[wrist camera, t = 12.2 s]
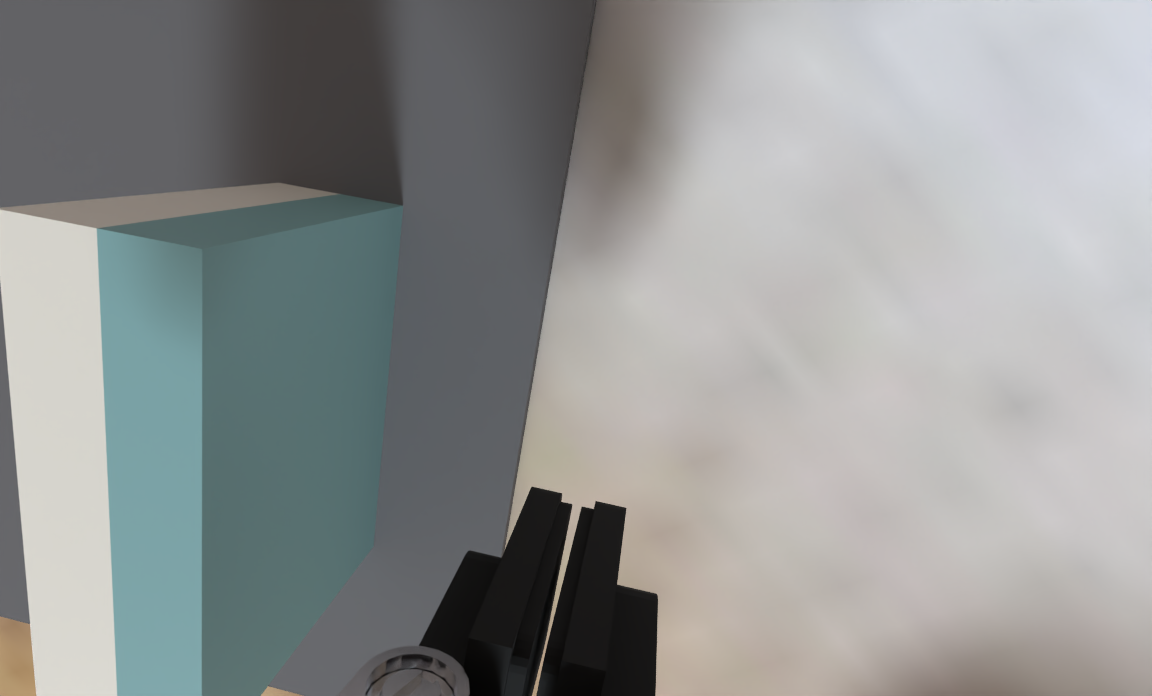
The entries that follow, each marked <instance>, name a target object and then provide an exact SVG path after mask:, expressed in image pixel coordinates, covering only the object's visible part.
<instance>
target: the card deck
mask: <svg viewBox="0 0 1152 696" xmlns="http://www.w3.org/2000/svg"><path fill="white" fill-rule="evenodd" d="M402 214H403V206H402V205H397V204H392V203H386V202H381V201H375V200H370V199H364V198H359V197H354V196H348V195H343V194H337V193H332V192H327V191H321V190H316V189H310V188H305V187H299V186H294V185H289V184H283V183H269V184H258V185H247V186H235V187H224V188H213V189H202V190H191V191H180V192H169V193H158V194H147V195H136V196H124V197H113V198H102V199H91V200H80V201H69V202H58V203H47V204H36V205H25V206H14V207H2V208H0V284H1V296H2V307H3V319H4V330H5V342H6V353H7V365H8V376H9V388H10V399H11V410H12V422H13V433H14V445H15V456H16V468H17V479H18V491H19V502H20V514H21V525H22V536H23V548H24V559H25V571H26V582H27V594H28V605H29V617H30V628H31V639H32V651H33V662H34V674H35V685H36V696H261V694H262V693H263V692H264V690H265V689H266V688H267V686H268V685H269V684H270V682H271V681H272V680H273V678H274V677H275V676H276V674H277V673H278V672H279V670H280V669H281V668H282V666H283V665H284V664H285V663H286V661H287V660H288V659H289V657H290V656H291V655H292V653H293V652H294V651H295V649H296V648H297V647H298V645H299V644H300V643H301V641H302V640H303V639H304V637H305V636H306V635H307V633H308V632H309V631H310V629H311V628H312V627H313V626H314V624H315V623H316V622H317V620H318V619H319V618H320V616H321V615H322V614H323V612H324V611H325V610H326V608H327V607H328V606H329V604H330V603H331V602H332V600H333V599H334V598H335V596H336V595H337V594H338V592H339V591H340V590H341V589H342V587H343V586H344V585H345V583H346V582H347V581H348V579H349V578H350V577H351V575H352V574H353V573H354V571H355V570H356V569H357V567H358V566H359V565H360V563H361V562H362V561H363V559H364V558H365V557H366V556H367V554H368V553H369V552H370V550H371V549H372V548H373V546H374V535H375V523H376V512H377V500H378V489H379V477H380V466H381V454H382V443H383V432H384V420H385V409H386V397H387V386H388V374H389V363H390V351H391V340H392V328H393V317H394V305H395V294H396V282H397V271H398V260H399V248H400V237H401V225H402Z"/></svg>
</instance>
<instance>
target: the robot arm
mask: <svg viewBox="0 0 1152 696" xmlns="http://www.w3.org/2000/svg"><path fill="white" fill-rule="evenodd" d="M561 499H562V493H557V492H553V491H549V490H544V489H540V488H535V487H531V489H530V492H529V494H528V496H527V499H526V501H525V504H524V506H523V508H522V511H521V513H520V515H519V518H518V520H517V523H516V525H515V527H514V530H513V532H512V535H511V537H510V539H509V542H508V544H507V547H506V549H505V551H504V554H503V556H502V558H501V557H497V556H492V555H488V554H484V553H480V552H475V551H471V550H469V551H468V552H467V553H466V555H465V556H464V558H463V560H462V562H461V564H460V566H459V568H458V570H457V572H456V574H455V576H454V578H453V580H452V582H451V584H450V586H449V587H448V589H447V591H446V593H445V595H444V597H443V599H442V601H441V603H440V605H439V607H438V609H437V611H436V613H435V615H434V617H433V619H432V621H431V623H430V624H429V626H428V628H427V630H426V632H425V634H424V636H423V638H422V640H421V642H420V644H419V646H403V647H398V648H393V649H389V650H387V651H384V652H382V653H380V654H378V655H376V656H374V657H373V658H372V659H370V660H369V661H368V662H367V663H366V664H365V665H363V666H362V667H361V668H360V670H359V671H358V672H357V673H356V674H355V675H354V677H353V678H352V679H351V680H350V681H349V683H348V684H347V685H346V686H345V687H344V688H343V690H342V691H341V692H340V693H339V694H338V695H337V696H532V693H533V689H534V685H535V681H536V677H537V673H538V669H539V666H540V662H541V658H542V654H543V649H544V645H545V641H546V636H547V631H548V626H549V621H550V616H551V611H552V606H553V601H554V596H555V591H556V585H557V580H558V575H559V570H560V565H561V560H562V555H563V550H564V545H565V540H566V535H567V530H568V525H569V520H570V515H571V509H572V504H568V503H564V502H561ZM625 514H626V508H624V507H620V506H615V505H611V504H606V503H602V502H597V501H596V503H595V507H594V509H590V508H586V507H582V508H581V512H580V516H579V520H578V524H577V528H576V532H575V536H574V540H573V544H572V548H571V552H570V556H569V560H568V564H567V568H566V572H565V576H564V580H563V584H562V588H561V592H560V596H559V600H558V604H557V608H556V612H555V616H554V620H553V624H552V628H551V632H550V636H549V640H548V644H547V648H546V653H545V657H544V662H543V666H542V671H541V676H540V681H539V686H538V691H537V696H655V689H656V651H657V613H658V596H657V594H655V593H650V592H646V591H642V590H638V589H633V588H629V587H625V586H620V585H617V580H618V571H619V563H620V555H621V547H622V539H623V531H624V523H625Z"/></svg>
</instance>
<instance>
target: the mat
mask: <svg viewBox="0 0 1152 696" xmlns="http://www.w3.org/2000/svg"><path fill="white" fill-rule="evenodd" d="M595 5H596V0H0V208H2V207H14V206H25V205H36V204H47V203H58V202H69V201H80V200H91V199H102V198H113V197H124V196H136V195H147V194H158V193H169V192H180V191H191V190H202V189H213V188H224V187H235V186H247V185H258V184H269V183H283V184H289V185H294V186H299V187H305V188H310V189H316V190H321V191H327V192H332V193H337V194H343V195H348V196H354V197H359V198H364V199H370V200H375V201H381V202H386V203H392V204H397V205H402V206H403V214H402V225H401V237H400V248H399V260H398V271H397V282H396V294H395V305H394V317H393V328H392V340H391V351H390V363H389V374H388V386H387V397H386V409H385V420H384V432H383V443H382V454H381V466H380V477H379V489H378V500H377V512H376V523H375V535H374V546H373V548H372V549H371V550H370V552H369V553H368V554H367V556H366V557H365V558H364V559H363V561H362V562H361V563H360V565H359V566H358V567H357V569H356V570H355V571H354V573H353V574H352V575H351V577H350V578H349V579H348V581H347V582H346V583H345V585H344V586H343V587H342V589H341V590H340V591H339V592H338V594H337V595H336V596H335V598H334V599H333V600H332V602H331V603H330V604H329V606H328V607H327V608H326V610H325V611H324V612H323V614H322V615H321V616H320V618H319V619H318V620H317V622H316V623H315V624H314V626H313V627H312V628H311V629H310V631H309V632H308V633H307V635H306V636H305V637H304V639H303V640H302V641H301V643H300V644H299V645H298V647H297V648H296V649H295V651H294V652H293V653H292V655H291V656H290V657H289V659H288V660H287V661H286V663H285V664H284V665H283V666H282V668H281V669H280V670H279V672H278V673H277V674H276V676H275V677H274V678H273V680H272V681H271V682H270V684H269V685H268V686H270V687H274V688H277V689H281V690H285V691H289V692H293V693H297V694H300V695H304V696H337V695H338V694H339V693H340V692H341V691H342V690H343V688H344V687H345V686H346V685H347V684H348V683H349V681H350V680H351V679H352V678H353V677H354V675H355V674H356V673H357V672H358V671H359V670H360V668H361V667H362V666H363V665H365V664H366V663H367V662H368V661H369V660H370V659H372V658H373V657H374V656H376V655H378V654H380V653H382V652H384V651H387V650H389V649H393V648H398V647H403V646H419V644H420V642H421V640H422V638H423V636H424V634H425V632H426V630H427V628H428V626H429V624H430V623H431V621H432V619H433V617H434V615H435V613H436V611H437V609H438V607H439V605H440V603H441V601H442V599H443V597H444V595H445V593H446V591H447V589H448V587H449V586H450V584H451V582H452V580H453V578H454V576H455V574H456V572H457V570H458V568H459V566H460V564H461V562H462V560H463V558H464V556H465V555H466V553H467V552H468V551H469V550H471V551H475V552H480V553H484V554H488V555H492V556H497V557H501V558H502V556H503V554H504V549H505V543H506V537H507V532H508V526H509V520H510V514H511V508H512V502H513V496H514V490H515V484H516V478H517V472H518V466H519V460H520V454H521V448H522V442H523V436H524V430H525V424H526V418H527V412H528V406H529V400H530V394H531V388H532V382H533V376H534V370H535V364H536V358H537V352H538V346H539V340H540V334H541V328H542V322H543V316H544V310H545V304H546V298H547V292H548V286H549V280H550V274H551V268H552V262H553V256H554V250H555V244H556V238H557V232H558V226H559V221H560V215H561V209H562V203H563V197H564V191H565V185H566V179H567V173H568V167H569V161H570V155H571V149H572V143H573V137H574V131H575V125H576V119H577V113H578V107H579V101H580V95H581V89H582V83H583V77H584V71H585V65H586V59H587V53H588V47H589V41H590V35H591V29H592V23H593V17H594V11H595ZM0 616H1V617H5V618H9V619H13V620H16V621H20V622H24V623H28V624H30V617H29V605H28V594H27V582H26V571H25V559H24V548H23V536H22V525H21V514H20V502H19V491H18V479H17V468H16V456H15V445H14V433H13V422H12V410H11V399H10V388H9V376H8V365H7V353H6V342H5V330H4V319H3V307H2V296H1V284H0Z"/></svg>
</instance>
